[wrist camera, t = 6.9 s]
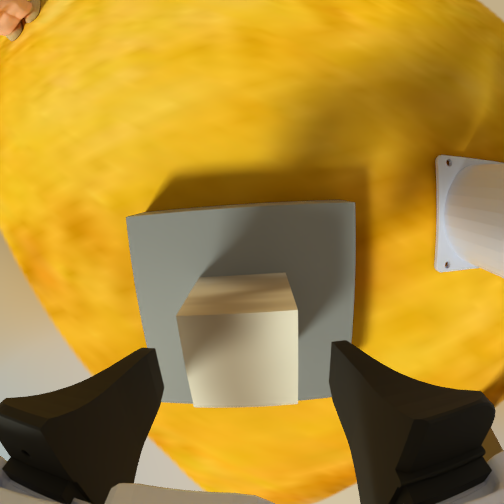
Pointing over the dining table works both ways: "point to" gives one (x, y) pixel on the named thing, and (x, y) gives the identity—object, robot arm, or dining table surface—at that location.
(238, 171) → the dining table surface
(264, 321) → the cream cube
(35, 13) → the grandmother figurine
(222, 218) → the base plinth
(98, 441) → the robot arm
